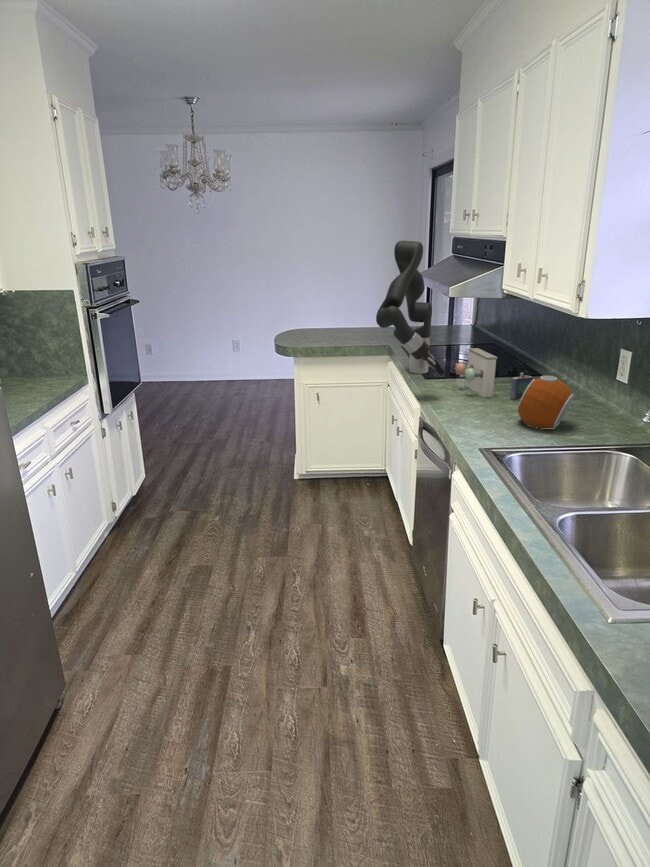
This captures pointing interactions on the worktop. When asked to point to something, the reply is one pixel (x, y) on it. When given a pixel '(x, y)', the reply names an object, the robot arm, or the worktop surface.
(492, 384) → the panel
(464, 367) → the terracotta button
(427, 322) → the robot arm
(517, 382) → the flask
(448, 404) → the worktop surface
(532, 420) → the alarm clock
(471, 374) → the sage button
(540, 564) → the worktop surface
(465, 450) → the worktop surface
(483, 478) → the worktop surface
